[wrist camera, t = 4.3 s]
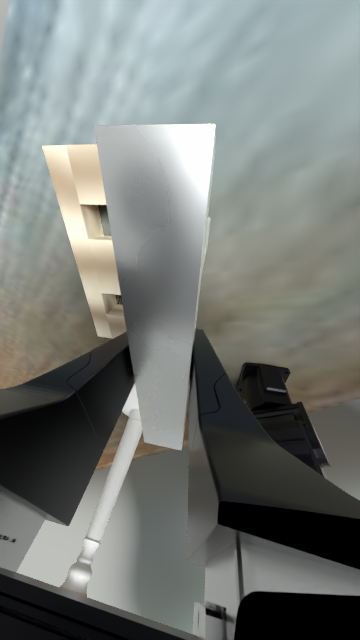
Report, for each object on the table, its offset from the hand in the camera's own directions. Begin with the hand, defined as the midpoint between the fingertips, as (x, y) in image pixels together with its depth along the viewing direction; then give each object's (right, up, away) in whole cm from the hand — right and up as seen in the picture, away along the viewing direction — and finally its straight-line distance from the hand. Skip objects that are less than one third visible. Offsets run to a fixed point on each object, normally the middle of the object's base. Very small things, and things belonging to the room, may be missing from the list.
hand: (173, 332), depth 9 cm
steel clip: (+1, +2, +3) cm, 3 cm away
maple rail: (-7, +8, +12) cm, 16 cm away
